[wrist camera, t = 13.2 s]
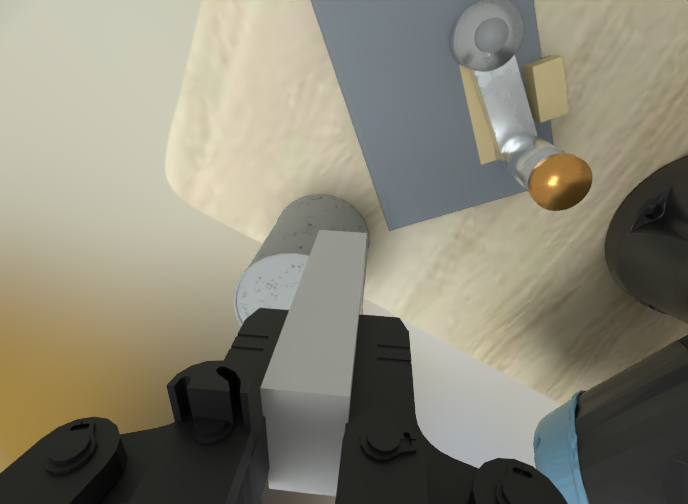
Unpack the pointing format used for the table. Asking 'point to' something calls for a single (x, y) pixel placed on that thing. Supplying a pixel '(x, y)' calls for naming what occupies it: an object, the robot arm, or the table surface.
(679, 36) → the table surface
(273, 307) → the grey cylinder
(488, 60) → the bar
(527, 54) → the plate
